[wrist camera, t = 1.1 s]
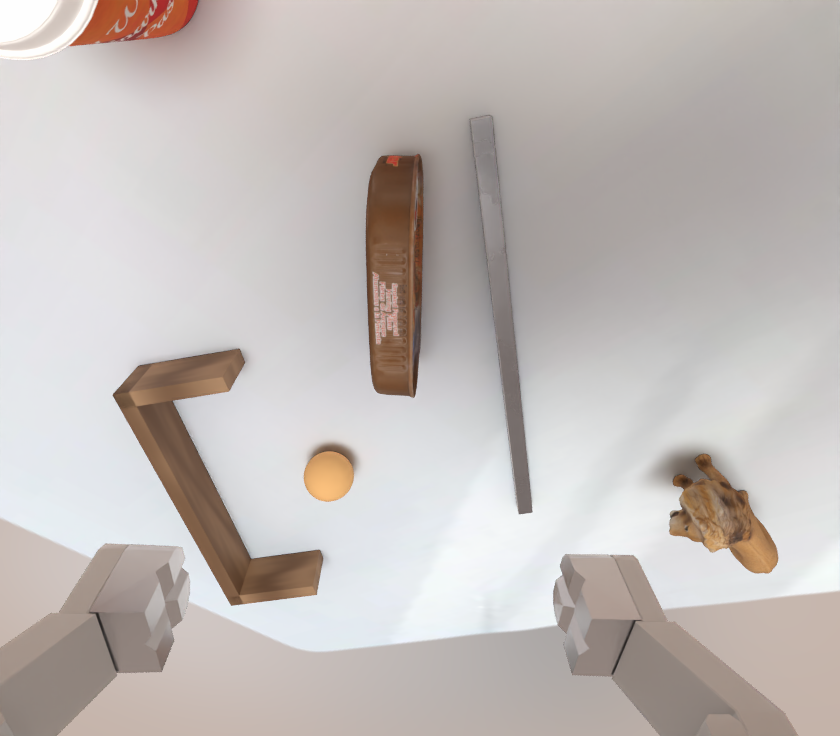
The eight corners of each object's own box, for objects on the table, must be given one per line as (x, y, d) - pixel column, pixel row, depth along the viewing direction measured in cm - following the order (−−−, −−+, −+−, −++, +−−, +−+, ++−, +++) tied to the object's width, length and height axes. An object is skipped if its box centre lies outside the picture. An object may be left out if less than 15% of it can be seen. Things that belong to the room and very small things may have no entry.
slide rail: (489, 114, 32) (491, 116, 31) (530, 502, 48) (532, 512, 47) (469, 118, 32) (471, 120, 31) (516, 504, 48) (518, 514, 47)
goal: (239, 348, 40) (222, 376, 36) (323, 558, 51) (316, 594, 48) (138, 365, 40) (112, 394, 37) (243, 569, 52) (231, 605, 49)
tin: (420, 358, 40) (421, 424, 33) (378, 357, 40) (370, 424, 33) (424, 144, 33) (427, 169, 26) (373, 143, 33) (361, 168, 26)
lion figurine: (630, 469, 46) (673, 553, 38) (679, 429, 44) (736, 510, 36) (734, 540, 51) (792, 628, 43) (783, 507, 49) (854, 593, 41)
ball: (349, 438, 44) (344, 470, 41) (360, 474, 46) (356, 508, 43) (302, 445, 44) (293, 478, 41) (315, 481, 46) (307, 515, 43)
